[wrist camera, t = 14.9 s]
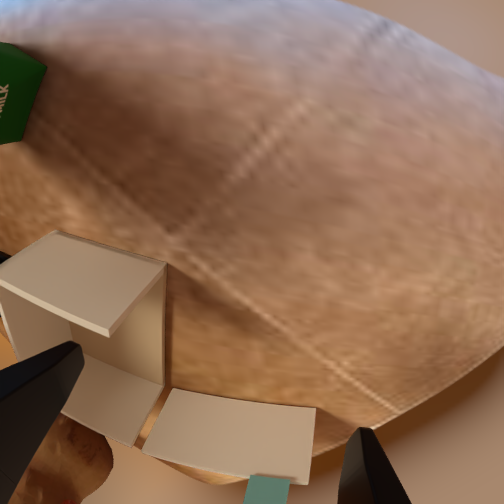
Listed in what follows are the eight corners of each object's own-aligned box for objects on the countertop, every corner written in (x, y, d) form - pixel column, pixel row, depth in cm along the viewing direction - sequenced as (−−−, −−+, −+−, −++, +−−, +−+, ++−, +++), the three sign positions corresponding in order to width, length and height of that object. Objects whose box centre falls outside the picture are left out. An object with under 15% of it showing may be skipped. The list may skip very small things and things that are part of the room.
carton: (74, 347, 30) (33, 396, 23) (55, 229, 24) (-12, 272, 17) (165, 385, 29) (131, 447, 22) (167, 263, 23) (108, 329, 16)
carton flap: (172, 385, 28) (125, 475, 19) (316, 405, 26) (304, 514, 16) (174, 393, 29) (130, 481, 19) (315, 413, 26) (302, 518, 17)
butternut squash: (133, 455, 40) (71, 578, 18) (64, 423, 41) (-3, 527, 19) (116, 408, 34) (25, 564, 11) (39, 370, 35) (-56, 491, 13)
